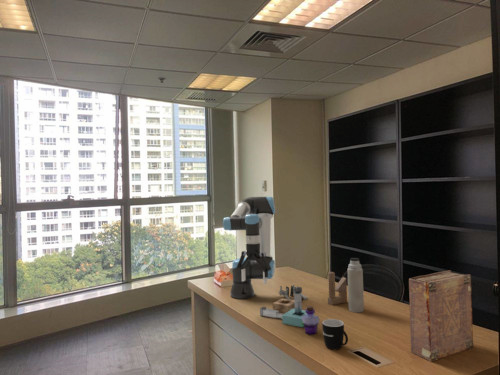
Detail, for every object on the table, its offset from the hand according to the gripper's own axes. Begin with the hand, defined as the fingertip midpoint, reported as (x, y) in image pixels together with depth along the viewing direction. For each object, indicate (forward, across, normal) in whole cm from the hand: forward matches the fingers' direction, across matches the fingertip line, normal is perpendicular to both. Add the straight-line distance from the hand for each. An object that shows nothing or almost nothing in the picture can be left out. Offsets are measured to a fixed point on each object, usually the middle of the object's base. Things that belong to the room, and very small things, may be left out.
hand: (254, 282), depth 203 cm
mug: (+17, +52, -21) cm, 59 cm away
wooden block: (+17, +34, +36) cm, 52 cm away
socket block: (+17, +26, -1) cm, 31 cm away
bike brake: (+17, +9, +32) cm, 38 cm away
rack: (+17, +13, +10) cm, 24 cm away
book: (+17, +91, -4) cm, 93 cm away
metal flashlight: (+17, +26, -1) cm, 31 cm away
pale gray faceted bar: (+17, +11, 0) cm, 20 cm away
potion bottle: (+17, +37, -11) cm, 42 cm away
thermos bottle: (+17, +47, +29) cm, 57 cm away
